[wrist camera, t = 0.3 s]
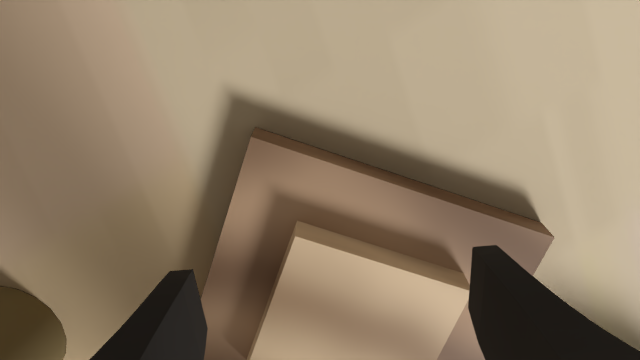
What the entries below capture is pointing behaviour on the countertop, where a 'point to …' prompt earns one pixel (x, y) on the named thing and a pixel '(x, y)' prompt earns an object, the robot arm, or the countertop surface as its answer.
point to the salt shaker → (28, 328)
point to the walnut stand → (349, 261)
